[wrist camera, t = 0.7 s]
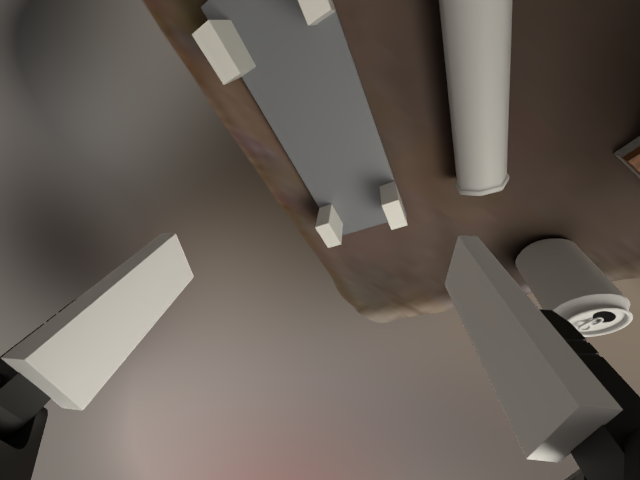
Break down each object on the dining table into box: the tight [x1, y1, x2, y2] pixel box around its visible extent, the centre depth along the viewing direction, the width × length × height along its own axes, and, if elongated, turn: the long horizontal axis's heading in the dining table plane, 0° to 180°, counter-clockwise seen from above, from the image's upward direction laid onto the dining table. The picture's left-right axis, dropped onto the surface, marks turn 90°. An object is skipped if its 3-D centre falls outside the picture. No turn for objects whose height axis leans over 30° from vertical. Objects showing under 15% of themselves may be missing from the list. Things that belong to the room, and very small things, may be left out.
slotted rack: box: [192, 0, 407, 248], centre depth 27 cm, size 11×30×6 cm, turn 27°
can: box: [515, 238, 633, 337], centre depth 33 cm, size 8×8×12 cm
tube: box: [439, 0, 512, 196], centre depth 22 cm, size 5×5×25 cm
